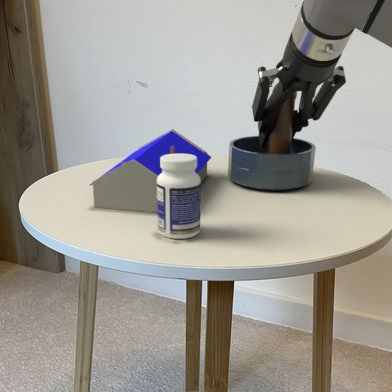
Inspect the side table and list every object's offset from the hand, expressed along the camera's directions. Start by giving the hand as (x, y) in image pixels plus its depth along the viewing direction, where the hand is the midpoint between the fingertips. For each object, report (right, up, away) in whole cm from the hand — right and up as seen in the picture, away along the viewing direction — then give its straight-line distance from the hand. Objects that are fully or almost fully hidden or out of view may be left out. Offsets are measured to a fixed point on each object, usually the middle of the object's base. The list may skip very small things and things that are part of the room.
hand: (273, 140), depth 104 cm
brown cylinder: (+1, -5, -2) cm, 5 cm away
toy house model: (-20, -10, -6) cm, 24 cm away
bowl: (-1, -7, -1) cm, 7 cm away
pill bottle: (-16, -21, -23) cm, 35 cm away
